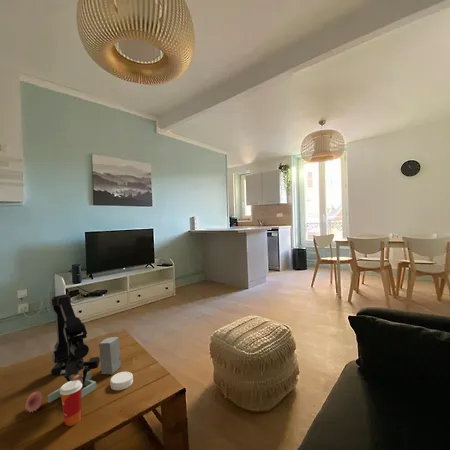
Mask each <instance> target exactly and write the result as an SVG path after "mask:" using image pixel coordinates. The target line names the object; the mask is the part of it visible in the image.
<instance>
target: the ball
mask: <svg viewBox="0 0 450 450" xmlns="http://www.w3.org/2000/svg"><path fill="white" fill-rule="evenodd" d="M82 376H83V375H81V374H76V375H73V377H71V378H72V380H71V381H75V380H76V381H77V380H79V381H80V382H81V383H83V377H82Z"/></svg>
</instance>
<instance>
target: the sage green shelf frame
mask: <svg viewBox="0 0 450 450" xmlns="http://www.w3.org/2000/svg"><path fill="white" fill-rule="evenodd" d="M81 376H82V377H83V375H81ZM82 386H85V387H82V388H83V389H82V392H81V399H82V398H85V396H88V395H89V394H90V393H92V392H93V391H95V390H96V389H97V381H94V380H92V371H88V372H87V375H86V379H85V382H84V384H83V383H82ZM60 390H61V387H60V388H58V389H57V390H54V391H53V392H51V393H49V394H47V403H51V402H53V401H55V400H56V399H58V398H61V394H60Z"/></svg>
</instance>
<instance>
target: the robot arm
mask: <svg viewBox="0 0 450 450" xmlns="http://www.w3.org/2000/svg"><path fill="white" fill-rule="evenodd" d="M49 306H50V308H51V309H52V311H53V312H54V313H55V326H56V339H57V341H56V343H55V345H54V346H53V347H54V348H53V349H54V350H53V351H52V354H51V357H52V359H51V360H52V362H53V364H54V365H53V367H52V368H51V369H50V376H51V377H54V376H60V377H64V378H65V380H66V381H67V382H69V381H71V380H72V378H73V377H72V376H76V375H79V373H80V371H81V370H82V376H83V384H84V382H85V379H86V375H87V373H88V372H91V370H95V369H97V368H99V367H100V366H99V365H100V364H101V361H100V356H93V357H90V358H89V360H86V361H84V358H85V357H86V356H87V355H88V354H89V352H90V351H89V350H90V347H89V346H88V345H87V344H86V343H85V342H84V339H86V338H87V337H88V336H87V335H88V332H87V329H86V326H85V324H84V323H83V322H82V320H81V318H79V317H78V316H76V314H75V311H74V309H73V306H72V298H71V295H67V294H61V295H56V296H52V297H51V299H49Z"/></svg>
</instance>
